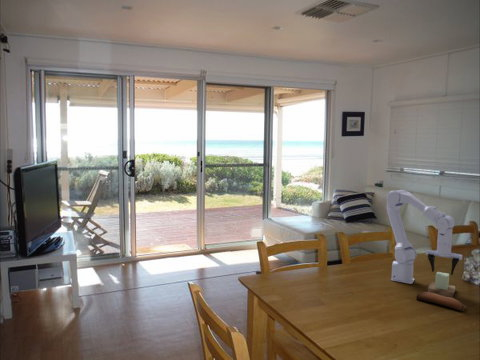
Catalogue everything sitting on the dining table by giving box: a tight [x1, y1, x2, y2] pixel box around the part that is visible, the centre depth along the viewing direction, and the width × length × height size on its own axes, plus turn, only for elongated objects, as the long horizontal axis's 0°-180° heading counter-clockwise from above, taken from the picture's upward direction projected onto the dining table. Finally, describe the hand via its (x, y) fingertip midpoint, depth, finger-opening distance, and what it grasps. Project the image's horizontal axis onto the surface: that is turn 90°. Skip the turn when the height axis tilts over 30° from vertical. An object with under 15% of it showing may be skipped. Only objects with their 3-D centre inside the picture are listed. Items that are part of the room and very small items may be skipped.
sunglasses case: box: [416, 291, 467, 313], centre depth 171 cm, size 18×7×7 cm
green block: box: [434, 271, 450, 290], centre depth 185 cm, size 5×5×6 cm
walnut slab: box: [427, 281, 456, 298], centre depth 186 cm, size 10×10×2 cm
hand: (442, 272), depth 185 cm, fingers open, 7 cm apart
